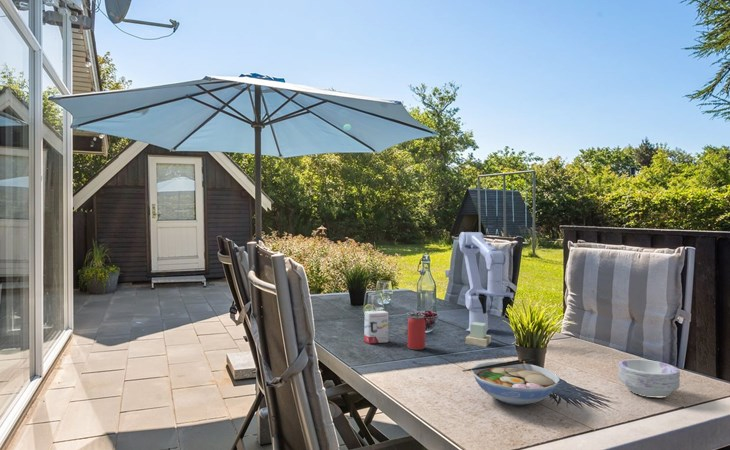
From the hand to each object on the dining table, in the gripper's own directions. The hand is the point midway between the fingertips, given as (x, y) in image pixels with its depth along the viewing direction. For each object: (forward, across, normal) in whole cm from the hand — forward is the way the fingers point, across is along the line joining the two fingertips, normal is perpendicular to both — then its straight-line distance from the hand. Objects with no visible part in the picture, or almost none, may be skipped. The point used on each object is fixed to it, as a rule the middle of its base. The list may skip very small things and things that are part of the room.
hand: (494, 314), depth 196 cm
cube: (+8, -4, -8) cm, 12 cm away
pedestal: (+11, -4, -8) cm, 14 cm away
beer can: (+11, -22, -28) cm, 37 cm away
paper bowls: (+11, +53, -36) cm, 65 cm away
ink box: (+11, -39, -28) cm, 49 cm away
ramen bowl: (+11, +21, -62) cm, 66 cm away
